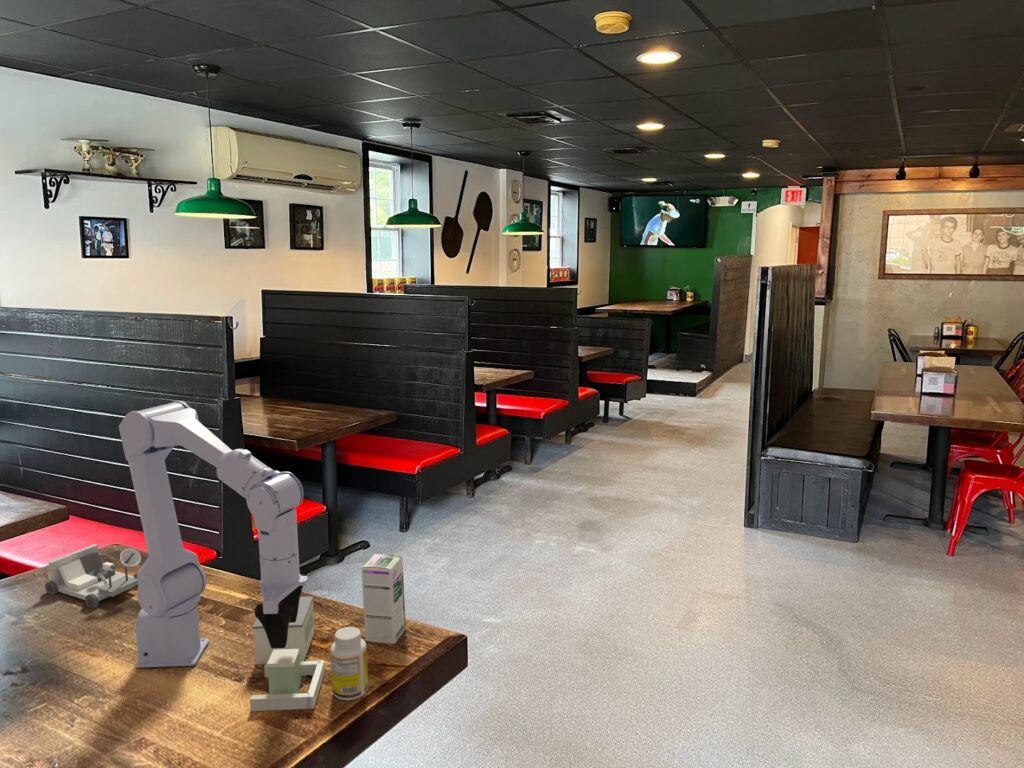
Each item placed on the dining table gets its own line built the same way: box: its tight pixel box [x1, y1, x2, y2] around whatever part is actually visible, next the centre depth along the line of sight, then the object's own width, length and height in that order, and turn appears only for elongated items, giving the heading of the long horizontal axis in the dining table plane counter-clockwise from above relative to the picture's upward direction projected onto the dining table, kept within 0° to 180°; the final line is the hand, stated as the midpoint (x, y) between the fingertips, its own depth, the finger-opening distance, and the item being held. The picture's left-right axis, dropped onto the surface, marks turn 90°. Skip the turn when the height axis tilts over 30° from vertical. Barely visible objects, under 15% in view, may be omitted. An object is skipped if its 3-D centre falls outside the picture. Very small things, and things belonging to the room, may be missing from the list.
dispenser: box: [251, 596, 315, 665], centre depth 133 cm, size 8×10×7 cm
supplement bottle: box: [330, 626, 369, 701], centre depth 120 cm, size 6×6×10 cm
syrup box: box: [360, 553, 407, 645], centre depth 136 cm, size 6×6×14 cm
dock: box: [249, 660, 326, 712], centre depth 121 cm, size 10×10×2 cm
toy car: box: [44, 543, 142, 609], centre depth 154 cm, size 18×10×12 cm
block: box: [267, 649, 302, 695], centre depth 120 cm, size 4×4×6 cm
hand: (284, 634), depth 119 cm, fingers open, 7 cm apart
